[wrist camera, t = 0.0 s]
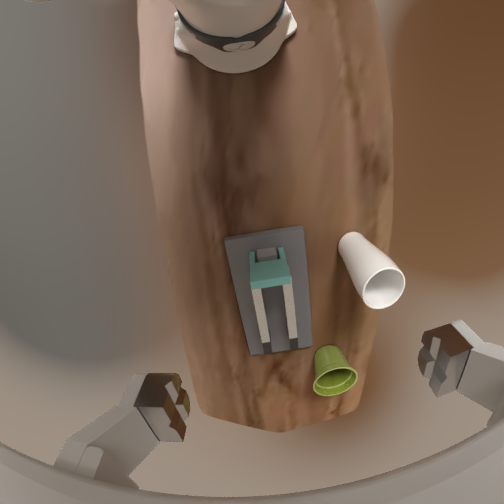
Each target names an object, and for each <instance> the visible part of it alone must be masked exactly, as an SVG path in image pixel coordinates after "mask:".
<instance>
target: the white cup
mask: <svg viewBox="0 0 504 504" xmlns="http://www.w3.org/2000/svg"><path fill="white" fill-rule="evenodd" d="M338 251H339V254H340V256H341V257H342V259H343V261H344V263H345V266H346V268H347V270H348V273H349V275H350V277H351V280H352V282H353V284H354V287H355V288H356V290H357V292H358V294H359V295H360V297H361V298H362V300H363V301H364V303H365V304H366V305H367V306H368V307H370V308H373V309H383V308H386V307H388V306H390V305H392V304H393V303H395V302H396V301H397V300H398V299H399V297H400V296H401V295H402V293H403V290H404V287H405V277H404V275H403V273H402V272H401V271H400V269H399V268H398V267H397V265H396V264H395V263H394V262H393V261H392V260H391V259H390V258H389V257H388V256H387V255H386V254H384V253H383V252H382V251H381V250H379V249H378V248H377V247H376V246H374V245H373V244H372V243H371V242H369V241H368V240H367V239H366V238H365V237H364V236H363V235H362V234H360V233H358V232H350V233H347V234H345V235H344V236H343V237H342V238H341V239H340V241H339V244H338Z"/></svg>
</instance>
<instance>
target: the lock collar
mask: <svg viewBox="0 0 504 504" xmlns="http://www.w3.org/2000/svg"><path fill="white" fill-rule="evenodd" d="M278 251H279V258H280V259H277V260H271V261H265V262H258V263H256V259H255V253H254V252H249V264H250V284H251V289H252V290H253V289H260V288H266V287H273V286H280V285H286V284H291V278H290V273H289V269H288V265H287V262H286V257H285V253H284V249H283V247H280V248H278Z"/></svg>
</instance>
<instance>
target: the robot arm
mask: <svg viewBox="0 0 504 504" xmlns="http://www.w3.org/2000/svg"><path fill="white" fill-rule="evenodd" d="M26 1H31V2H47V1H51V0H26ZM169 1H171V2H172V3H173V4H174V5H175V7H176V8H177V12H175V13H174V20H175V21H176V23H175V34H174V46H175V48H176V49H177V50H179V51H181V52H184V53H188V54H191V55H193V56H194V57H195V58H197V59H198V60H199V61H200V62H201V63H202V64H204V65H205V66H207V67H209V68H211V69H213V70H216V71H220V72H224V73H243V72H248V71H251V70H254V69H257V68H259V67H261V66H263V65H264V64H266V63H267V62H268V61H270V60H271V59H272V58H273V57H274V56H275V54H276V53H277V52H278V50H279V48H280V46H281V44H282V43H283V41H284V40H285V39H286V38H288V37H289V36H291V35H292V34H293V33H294V32H295V31H296V29H297V24H296V22H295V19H294V17H293V15H292V13H291V11H290V9H289V7H288V5H287V4H286V2H285V0H169ZM421 342H422V343H423V344H424V346H423V347H422V348H421V350H420V351H419V355H418V365H419V369H420V371H421V373H422V375H423V376H424V377H426V378H428V379H430V381H429V386H430V387H431V389H432V391H433V392H434V394H435V395H436V397H439V396H442V395H445V394H447V393H450V392H452V391H454V390H457V391H458V392H459V393H461V394H463V395H464V396H466V397H468V398H470V399H471V400H473V401H475V402H477V403H478V404H480V405H482V406H484V407H485V408H487V409H489V410H490V411H492V412H493V414H492V416H491V417H490V419H489V421H488V423H487V428H485V429H483V430H482V431H480V432H478V433H476V434H474V435H473V436H471V437H469V438H467V439H465V440H463V441H461V442H459V443H457V444H455V445H453V446H451V447H449V448H447V449H445V450H443V451H441V452H439V453H436V454H434V455H432V456H429V457H427V458H425V459H422V460H420V461H417V462H414V463H412V464H409V465H407V466H404V467H401V468H398V469H395V470H392V471H389V472H386V473H383V474H380V475H376V476H373V477H369V478H366V479H362V480H359V481H354V482H351V483H346V484H342V485H337V486H332V487H327V488H322V489H317V490H310V491H304V492H297V493H289V494H280V495H269V496H252V497H204V496H188V495H175V494H167V493H159V492H152V491H146V490H140V489H139V487H138V485H137V484H136V483H135V482H134V481H133V480H132V479H131V478H129V476H128V475H129V474H130V473H131V472H132V471H133V470H134V469H135V468H136V467H137V466H138V465H139V464H140V463H141V462H142V461H143V460H144V459H145V458H146V457H147V456H148V455H149V453H150V452H151V451H152V450H153V449H154V448H155V447H156V446H157V445H158V444H159V443H160V442H159V441H166V442H183V441H184V436H185V432H186V425H185V423H184V420H185V419H187V418H188V417H189V412H190V401H189V397H188V394H187V392H186V390H184V389H182V388H181V383H182V381H181V378H180V376H179V375H178V374H176V373H136V374H134V375H133V376H132V378H131V380H130V382H129V385H128V387H127V389H126V391H125V393H124V395H123V397H122V400H121V402H120V404H119V406H114V407H112V408H111V409H109V410H108V411H107V412H105V413H104V414H102V415H101V416H100V417H98V418H97V419H95V420H94V421H92V422H91V423H90V424H88V425H87V426H85V427H84V428H82V429H81V430H80V431H78V432H76V433H75V434H74V435H72V436H70V437H69V438H67V440H66V441H65V443H64V445H63V447H62V449H61V451H60V453H59V455H58V457H57V459H56V461H55V463H54V465H53V466H52V465H49V464H46V463H44V462H41V461H39V460H37V459H34V458H32V457H30V456H28V455H25V454H23V453H21V452H19V451H17V450H15V449H12V448H11V447H9V446H7V445H5V444H3V443H1V442H0V504H504V347H502V346H499V345H496V344H492V343H489V342H487V343H484V342H483V341H482V340H481V339H480V338H479V337H478V336H477V335H476V334H475V333H474V332H473V331H472V330H471V329H470V328H469V327H468V326H467V325H466V324H465V323H464V322H463V321H462V320H456V321H453V322H450V323H448V324H446V325H443V326H440V327H437V328H434V329H431V330H428V331H425V332H424V333H423V335H422V341H421Z"/></svg>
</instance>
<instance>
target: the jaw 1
mask: <svg viewBox="0 0 504 504" xmlns="http://www.w3.org/2000/svg"><path fill="white" fill-rule="evenodd" d="M250 285H251V284H250ZM251 290H252V289H251ZM252 295H253V300H254V305H255V310H256V315H257V320H258V325H259V330H260V335H261V340H262V346H263V351H264V354H270V353H272V345H271V337H270V331H269V325H268V320H267V314H266V308H265V302H264V297H263V291H262V288H260V289H253V290H252Z"/></svg>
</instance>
